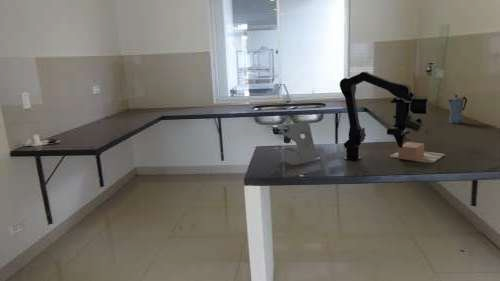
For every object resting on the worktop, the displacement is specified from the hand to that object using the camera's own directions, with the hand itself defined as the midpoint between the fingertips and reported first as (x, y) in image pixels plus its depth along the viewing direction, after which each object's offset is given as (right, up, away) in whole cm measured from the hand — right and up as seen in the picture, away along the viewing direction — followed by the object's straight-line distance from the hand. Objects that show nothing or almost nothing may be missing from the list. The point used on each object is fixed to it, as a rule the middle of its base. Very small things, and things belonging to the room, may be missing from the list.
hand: (400, 147), depth 167 cm
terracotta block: (+5, -3, +6) cm, 9 cm away
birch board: (+14, -5, +14) cm, 20 cm away
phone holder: (-42, -7, +17) cm, 46 cm away
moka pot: (+80, +16, +98) cm, 128 cm away
